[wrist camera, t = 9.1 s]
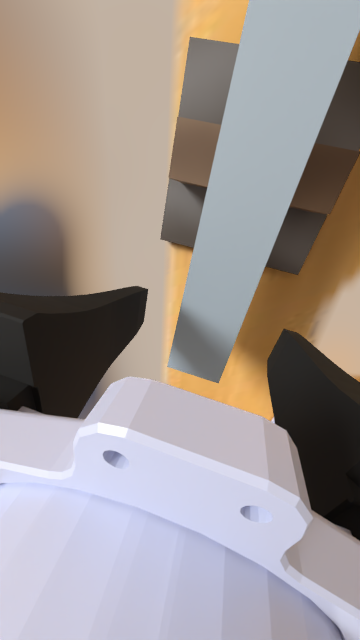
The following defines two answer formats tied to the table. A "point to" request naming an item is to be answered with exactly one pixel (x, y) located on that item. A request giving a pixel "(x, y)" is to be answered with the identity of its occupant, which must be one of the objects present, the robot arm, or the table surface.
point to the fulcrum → (201, 141)
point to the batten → (258, 165)
